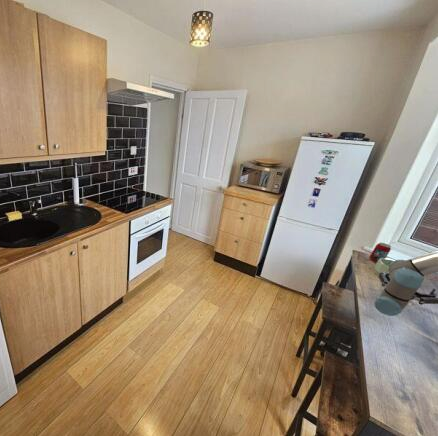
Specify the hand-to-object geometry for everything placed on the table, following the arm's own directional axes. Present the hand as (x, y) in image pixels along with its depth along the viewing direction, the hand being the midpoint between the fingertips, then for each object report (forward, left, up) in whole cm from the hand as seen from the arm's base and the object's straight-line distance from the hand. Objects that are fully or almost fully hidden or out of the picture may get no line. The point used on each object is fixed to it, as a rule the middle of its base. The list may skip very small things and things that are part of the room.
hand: (412, 282), depth 110 cm
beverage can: (+20, -36, -11) cm, 43 cm away
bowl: (+10, -25, -11) cm, 29 cm away
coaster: (0, -1, -11) cm, 11 cm away
